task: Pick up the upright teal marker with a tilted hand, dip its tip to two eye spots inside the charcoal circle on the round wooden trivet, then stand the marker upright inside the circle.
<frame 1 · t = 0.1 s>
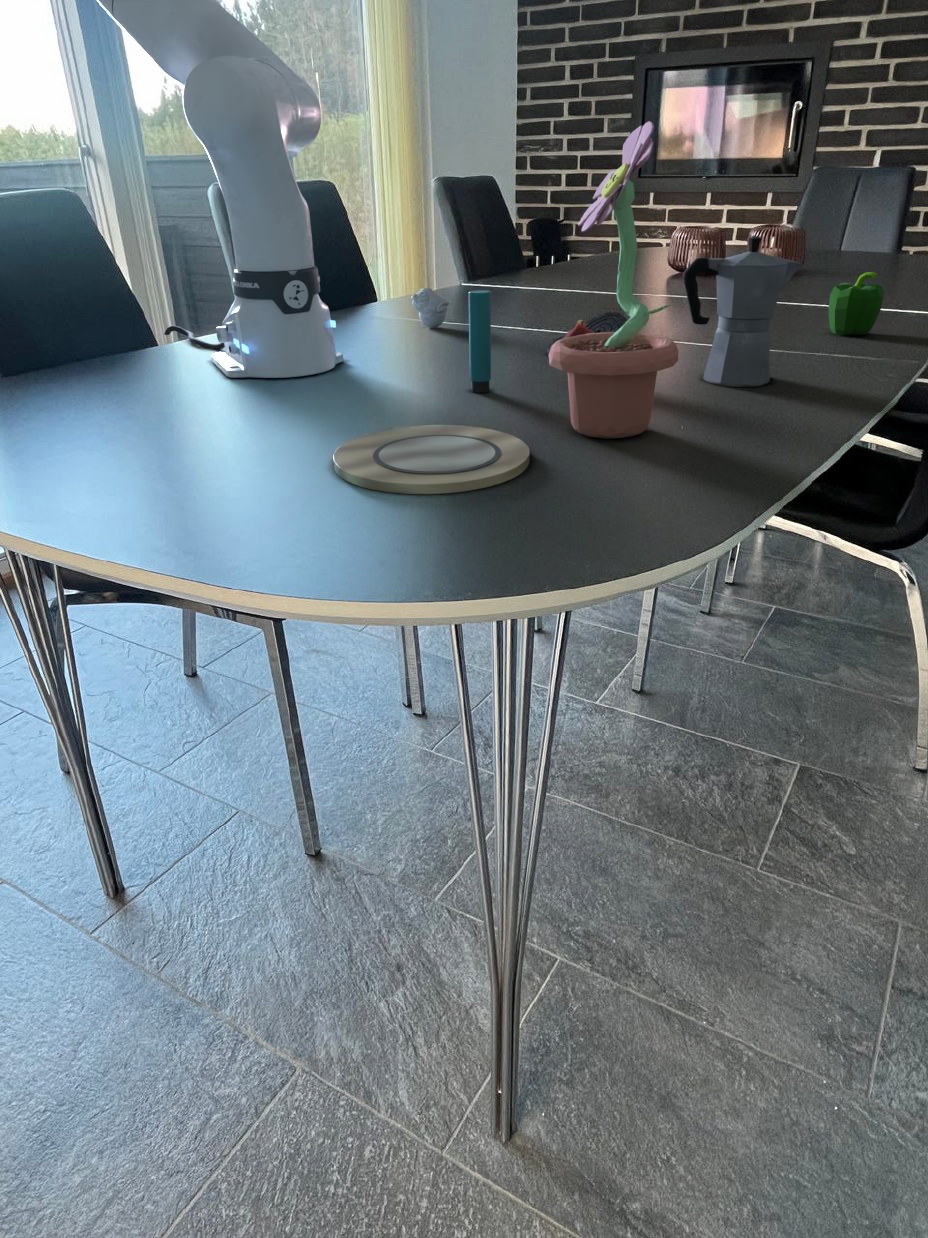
decorative flower: (607, 430, 95), on the table
onion: (578, 382, 116), on the table
marker: (480, 390, 112), on the table
crumpled paper ball: (431, 328, 157), on the table
bell pepper: (847, 335, 143), on the table
coffeepot: (728, 381, 115), on the table
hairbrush: (584, 343, 141), on the table
round wooden trivet: (431, 460, 86), on the table
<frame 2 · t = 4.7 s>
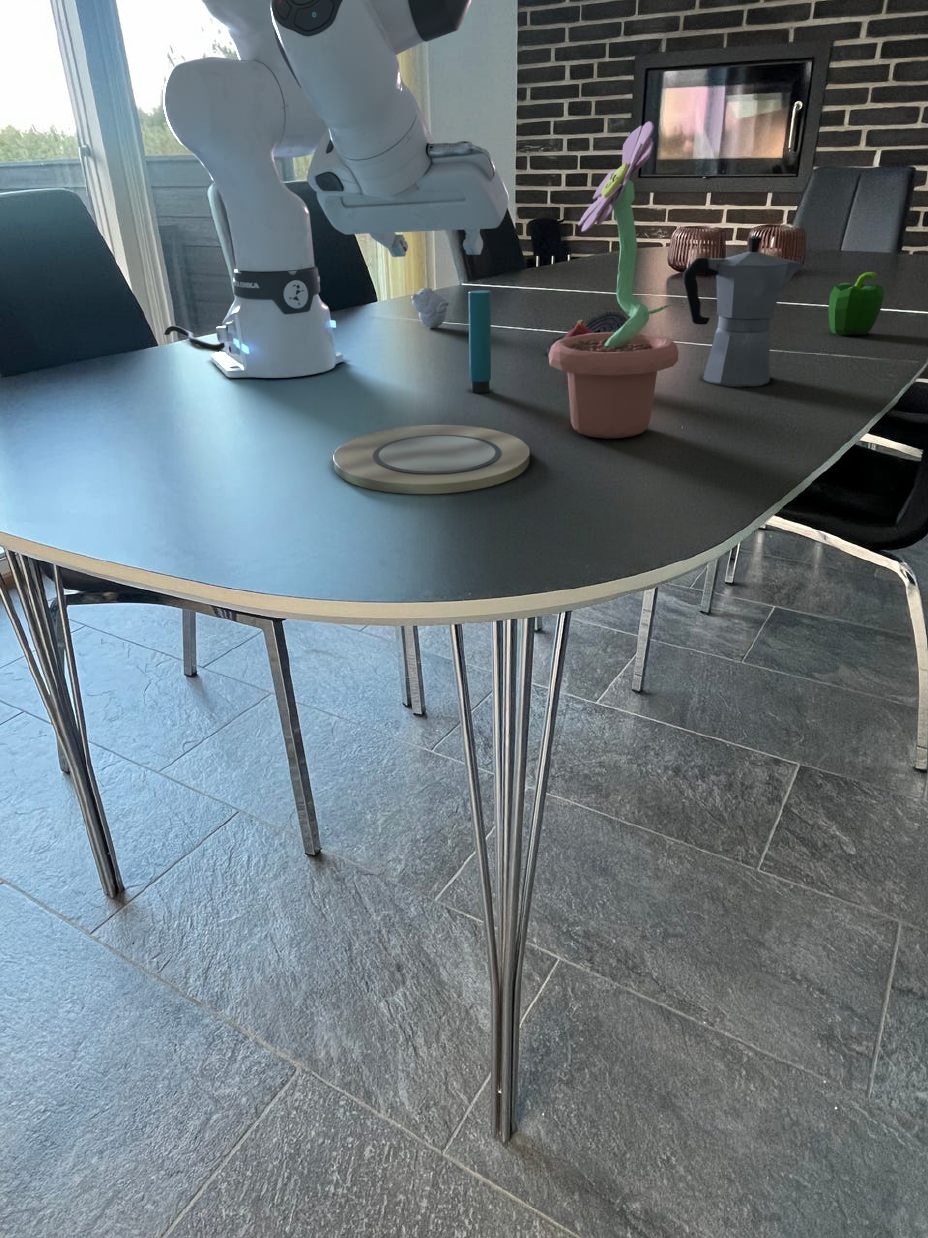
hand: (437, 251, 94), 18 cm above the table, tool tilted 45°, fingers open, 8 cm apart
nothing on the table moved.
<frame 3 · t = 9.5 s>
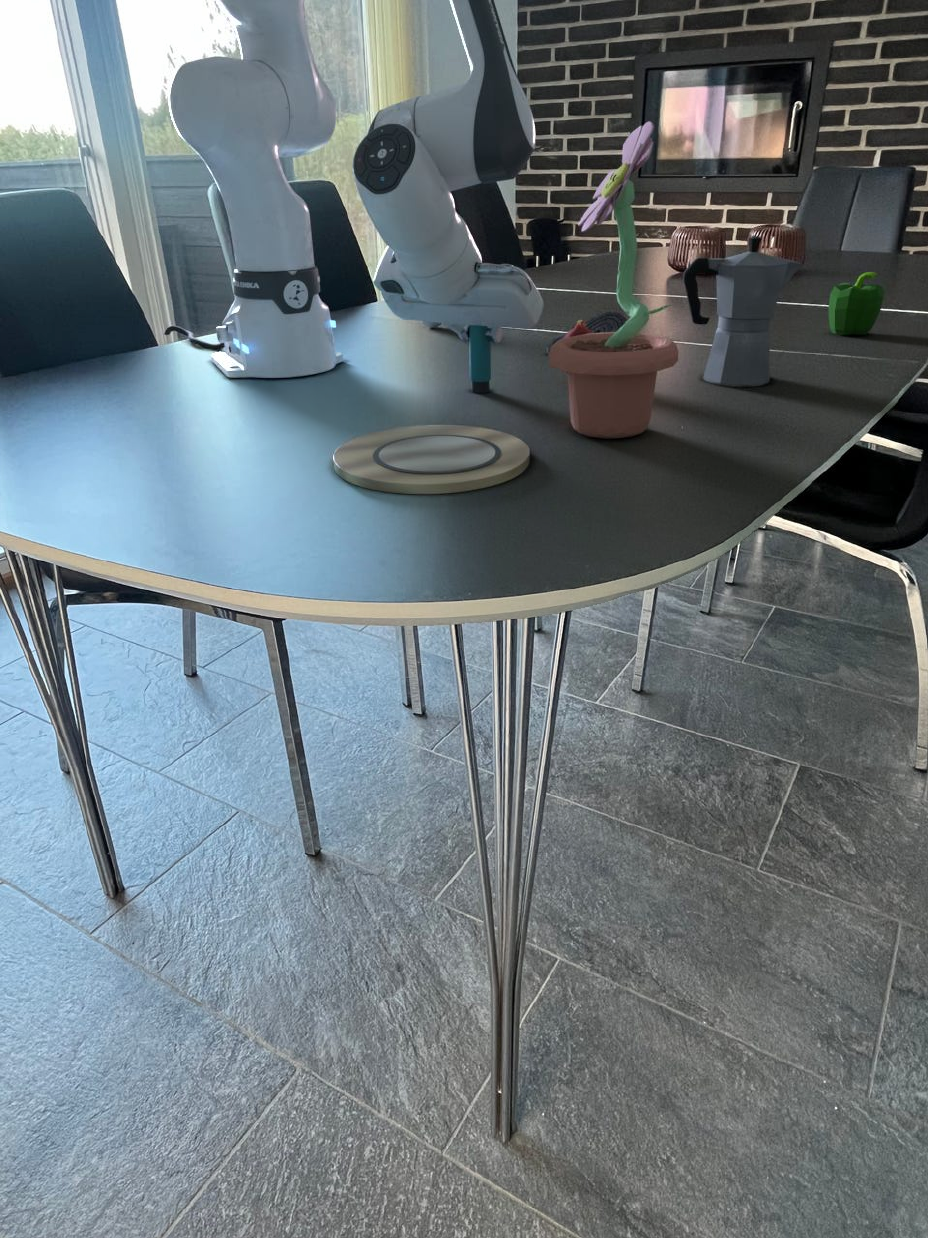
hand: (482, 336, 109), 7 cm above the table, tool tilted 45°, fingers closed on marker, 3 cm apart
marker: (480, 390, 112), on the table, touching gripper
everything else where it was.
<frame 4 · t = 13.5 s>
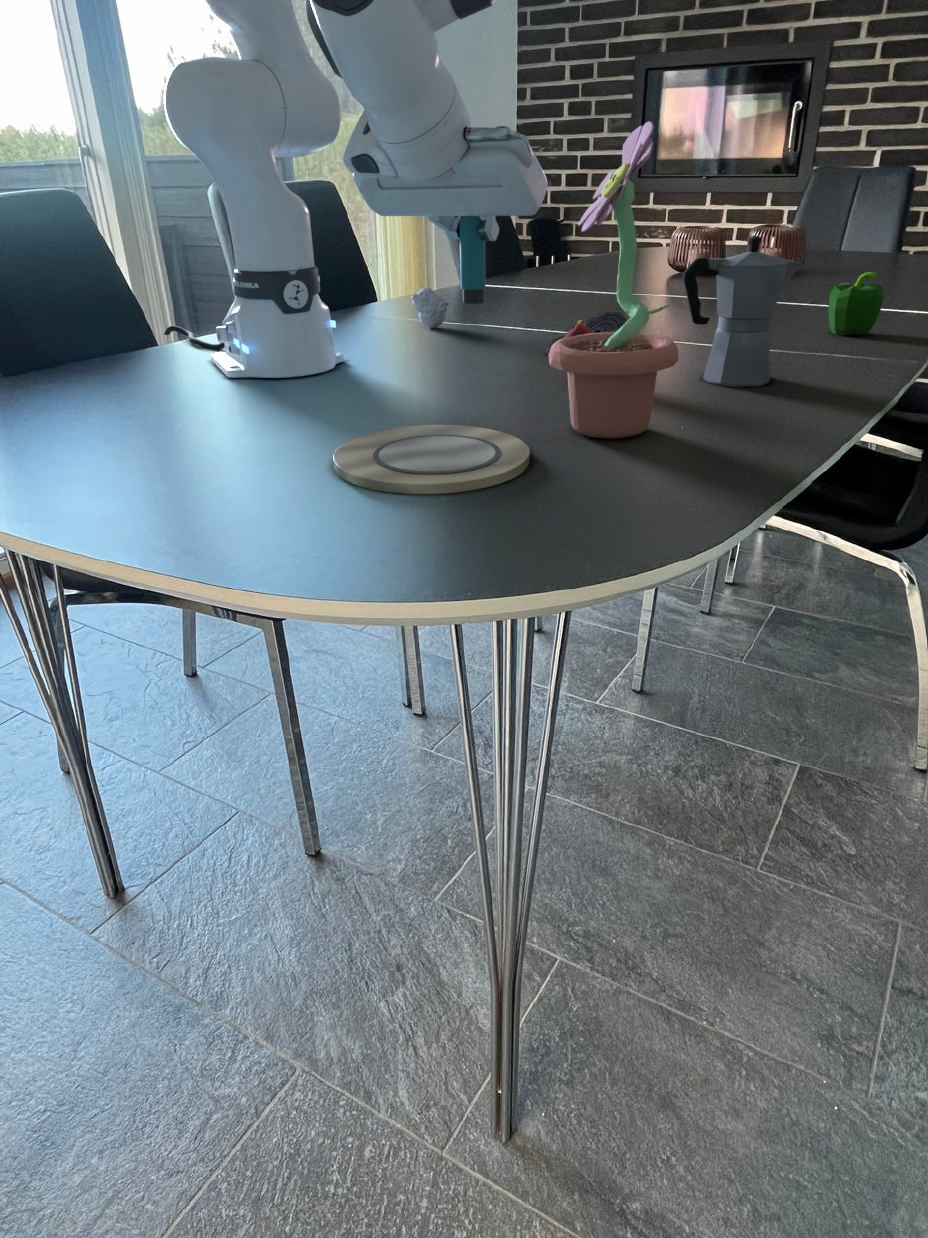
hand: (474, 235, 92), 20 cm above the table, tool tilted 45°, fingers closed on marker, 3 cm apart
marker: (473, 302, 95), point 13 cm above the table, touching gripper
everything else where it was.
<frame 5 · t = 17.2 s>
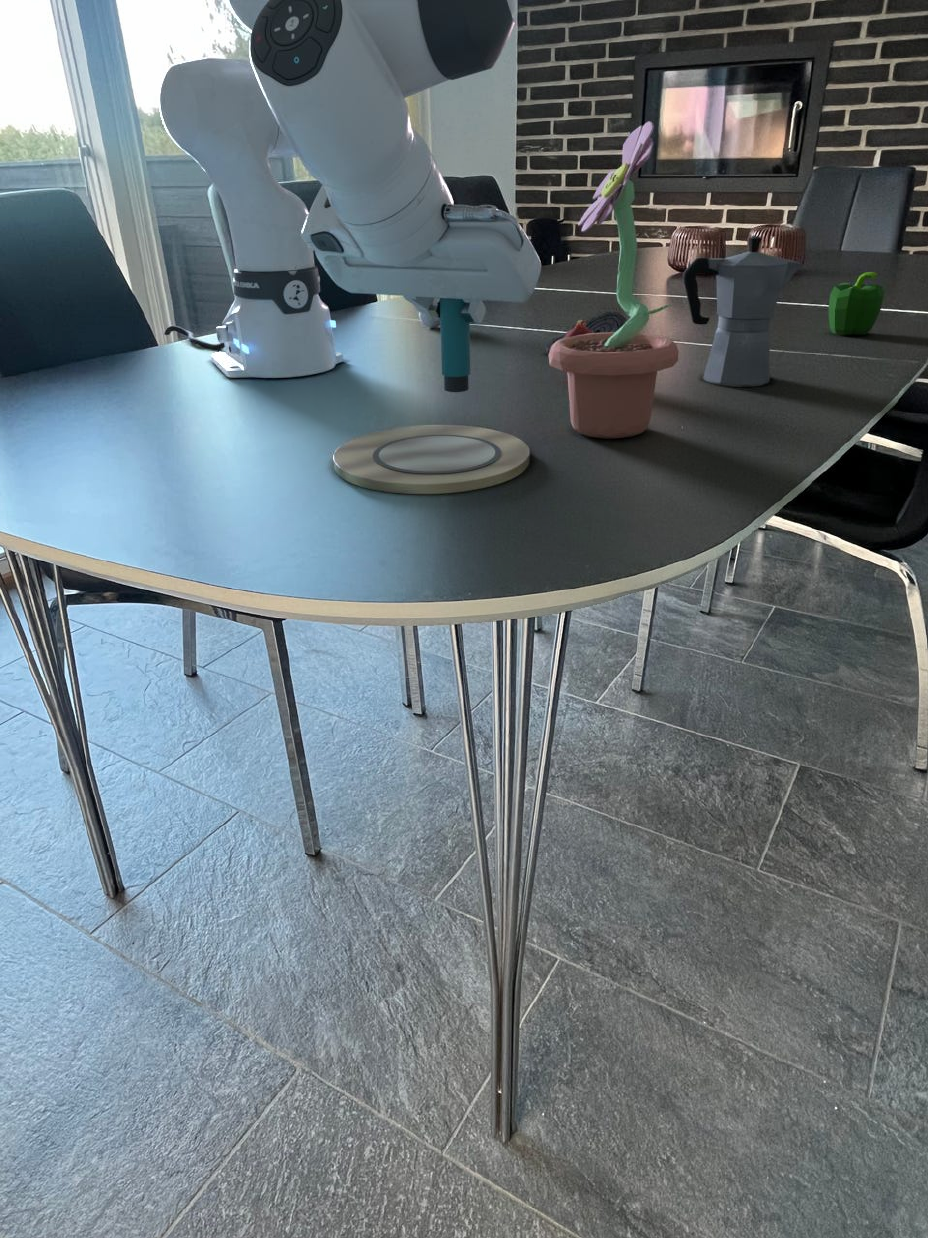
hand: (457, 315, 80), 14 cm above the table, tool tilted 45°, fingers closed on marker, 3 cm apart
marker: (456, 389, 83), point 7 cm above the table, touching gripper
everything else where it was.
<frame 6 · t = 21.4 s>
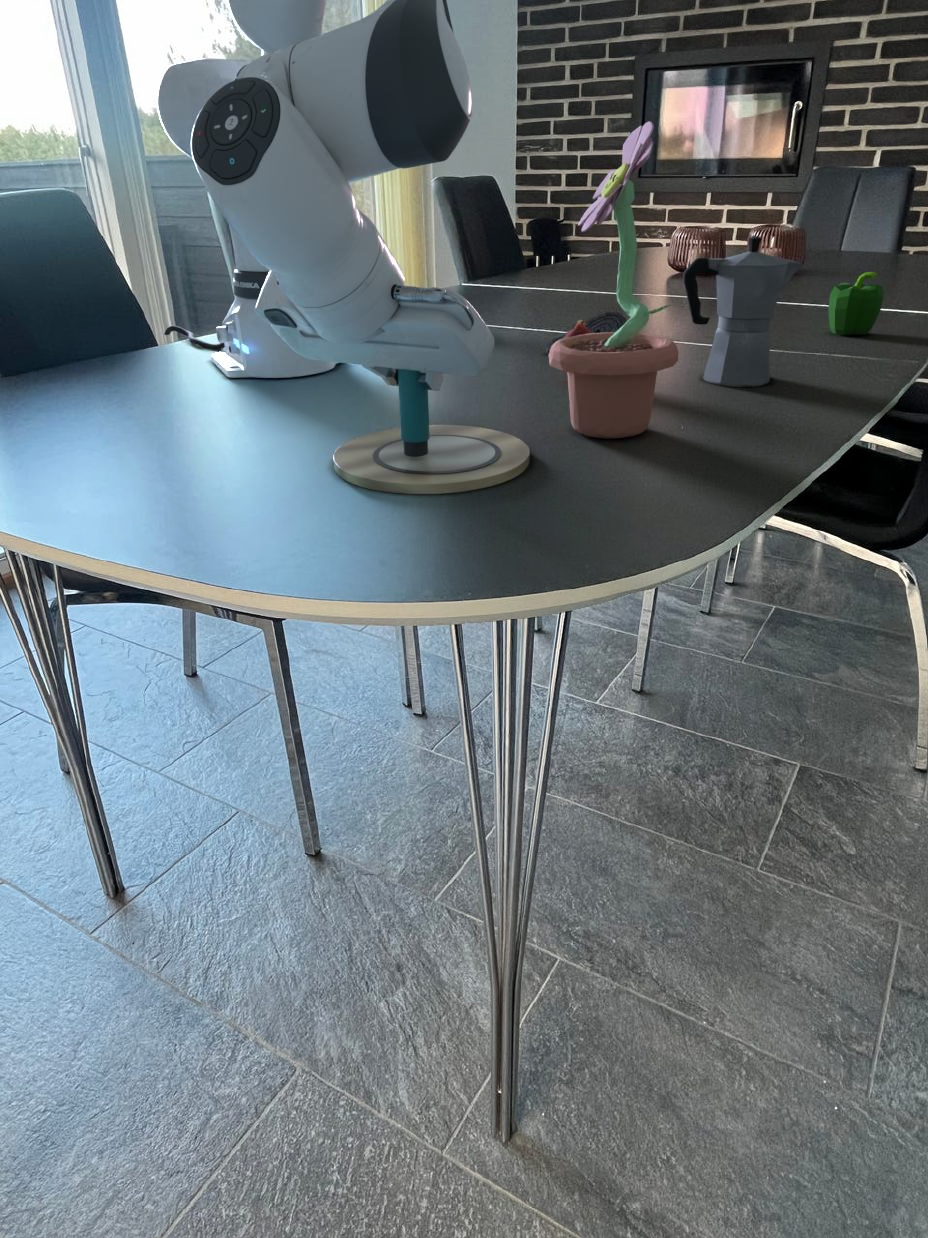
hand: (416, 381, 80), 8 cm above the table, tool tilted 45°, fingers closed on marker, 3 cm apart
marker: (416, 453, 83), point 2 cm above the table, touching gripper
everything else where it was.
when the fingers open (8 cm above the table, at t = 25.0 s): marker stays where it is, resting on round wooden trivet.
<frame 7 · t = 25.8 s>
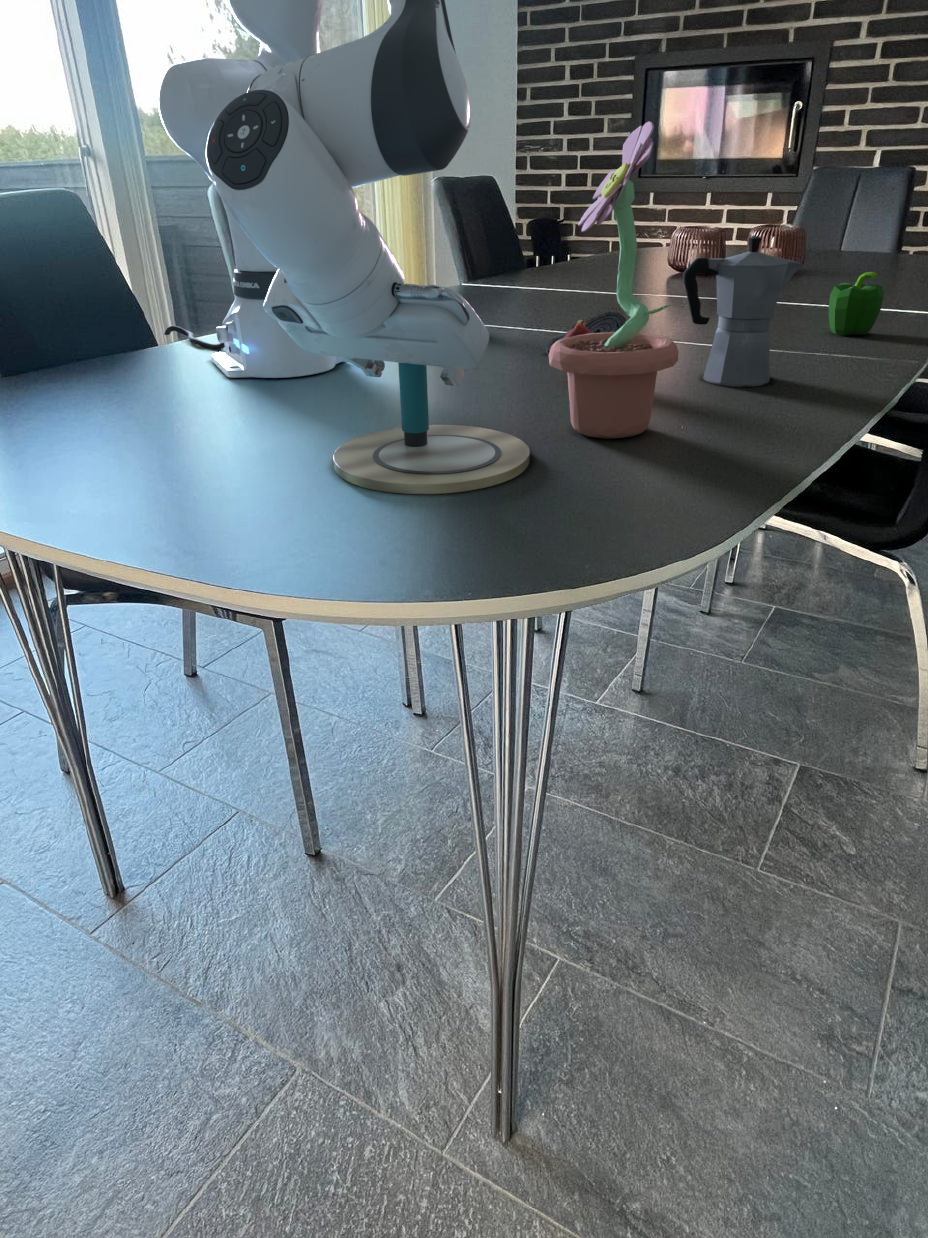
hand: (415, 375, 85), 8 cm above the table, tool tilted 45°, fingers open, 8 cm apart
marker: (416, 443, 87), point 1 cm above the table, touching round wooden trivet
everything else where it was.
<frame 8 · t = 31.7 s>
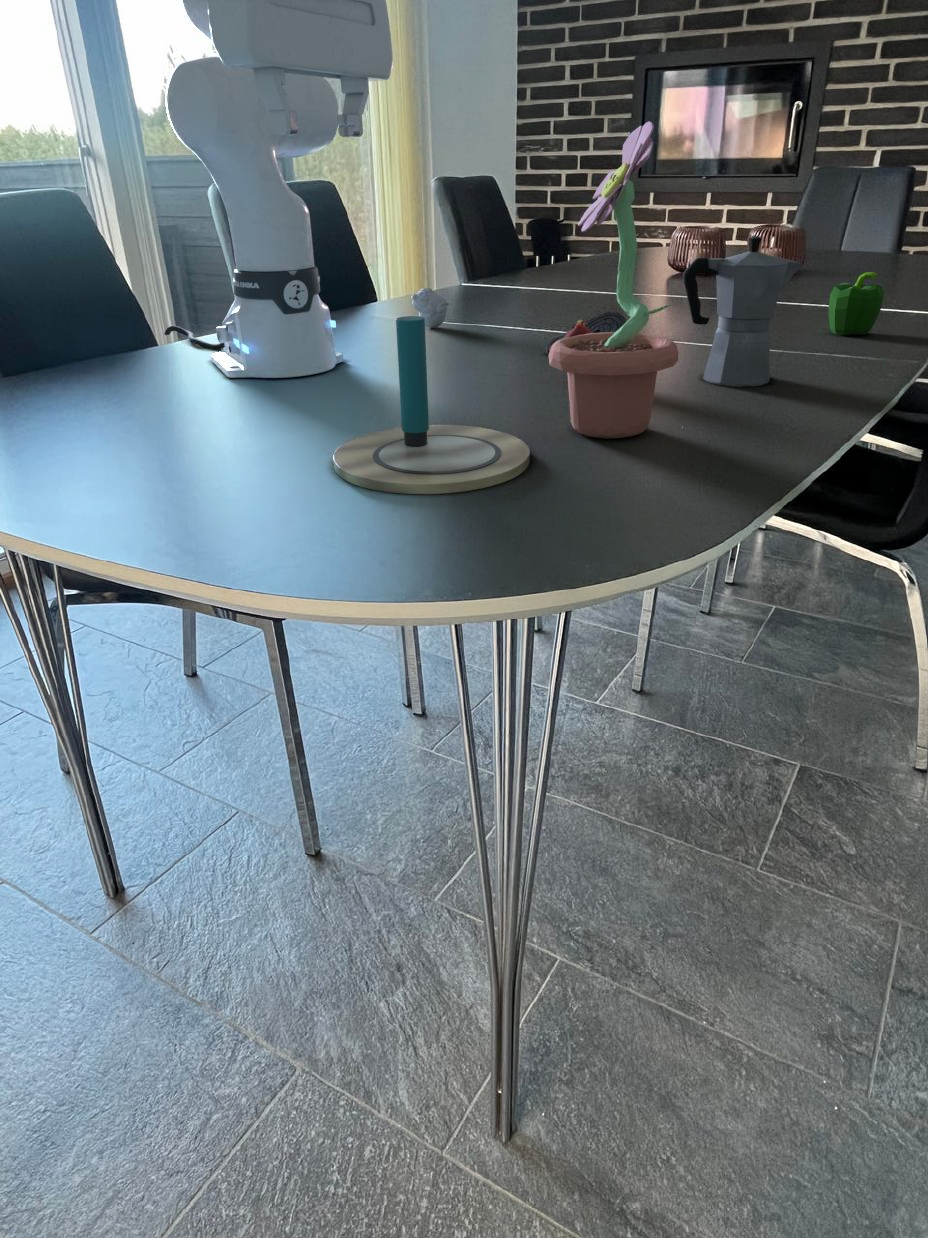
hand: (319, 136, 74), 29 cm above the table, tool pointing down, fingers open, 8 cm apart
nothing on the table moved.
at the end: marker inside the target area on the round wooden trivet (3.4 cm from its centre), point 1.1 cm above the round wooden trivet's base; marker tilted 0°; the gripper is holding nothing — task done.
